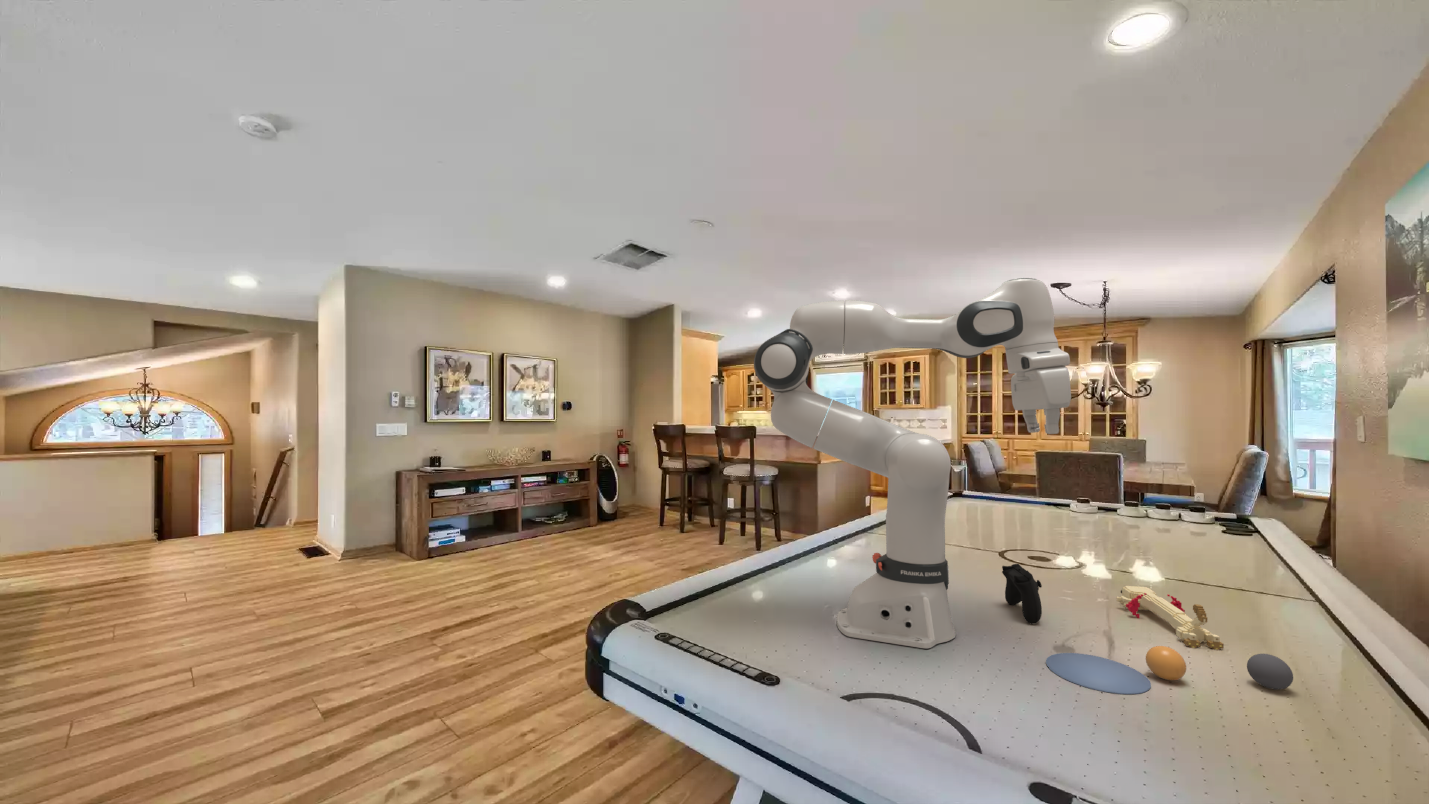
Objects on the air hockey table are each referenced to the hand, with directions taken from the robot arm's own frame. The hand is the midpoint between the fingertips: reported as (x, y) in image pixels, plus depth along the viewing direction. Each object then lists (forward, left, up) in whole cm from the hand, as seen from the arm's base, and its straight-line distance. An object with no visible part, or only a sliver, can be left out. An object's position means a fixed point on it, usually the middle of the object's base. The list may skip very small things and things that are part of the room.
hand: (1042, 433), depth 102 cm
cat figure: (+27, +14, -40) cm, 50 cm away
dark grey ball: (+27, -13, -37) cm, 47 cm away
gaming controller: (+1, +14, -39) cm, 42 cm away
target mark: (+3, -13, -39) cm, 41 cm away
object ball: (+13, -13, -37) cm, 41 cm away
